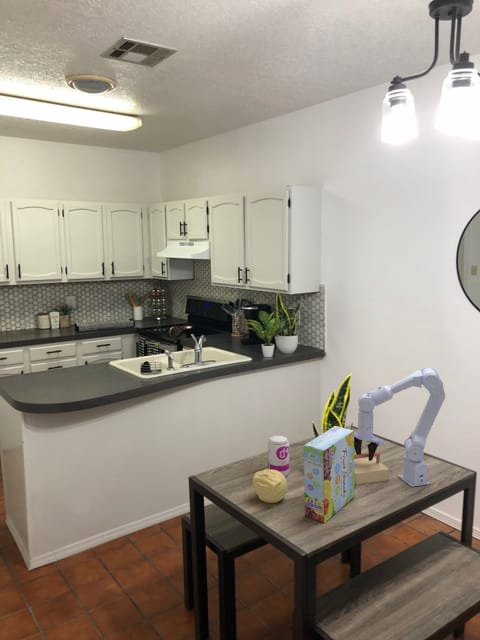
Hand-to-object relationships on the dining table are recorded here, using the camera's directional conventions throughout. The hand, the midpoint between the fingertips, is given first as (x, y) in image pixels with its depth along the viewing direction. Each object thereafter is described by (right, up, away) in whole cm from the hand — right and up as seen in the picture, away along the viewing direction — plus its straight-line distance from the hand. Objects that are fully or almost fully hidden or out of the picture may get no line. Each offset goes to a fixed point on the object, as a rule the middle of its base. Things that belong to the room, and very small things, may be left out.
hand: (364, 458), depth 200 cm
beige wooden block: (-1, -3, +3) cm, 4 cm away
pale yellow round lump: (-38, -11, -15) cm, 42 cm away
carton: (0, -7, +1) cm, 7 cm away
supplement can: (-34, -7, +3) cm, 35 cm away
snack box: (-18, -11, -22) cm, 30 cm away
